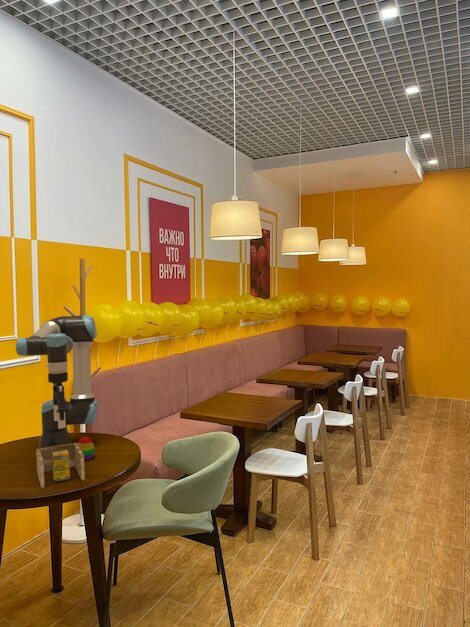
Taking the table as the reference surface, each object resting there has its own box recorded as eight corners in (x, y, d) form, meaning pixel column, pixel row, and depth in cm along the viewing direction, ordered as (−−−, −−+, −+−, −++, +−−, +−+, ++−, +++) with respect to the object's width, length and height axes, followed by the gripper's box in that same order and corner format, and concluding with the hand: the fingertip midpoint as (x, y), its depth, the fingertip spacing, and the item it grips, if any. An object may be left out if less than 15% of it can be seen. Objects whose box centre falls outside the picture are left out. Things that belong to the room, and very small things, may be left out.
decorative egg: (82, 462, 215) (81, 440, 215) (72, 459, 221) (71, 437, 220) (98, 457, 221) (97, 436, 221) (88, 454, 227) (87, 433, 226)
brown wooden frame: (36, 472, 205) (35, 449, 204) (77, 465, 212) (76, 442, 212) (40, 488, 188) (39, 462, 187) (85, 479, 195) (84, 455, 195)
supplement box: (54, 483, 192) (53, 456, 192) (52, 478, 198) (51, 451, 197) (70, 480, 195) (69, 453, 195) (68, 475, 200) (67, 449, 200)
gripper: (44, 369, 204) (46, 418, 205) (51, 377, 182) (53, 433, 183) (63, 367, 207) (65, 416, 208) (72, 375, 185) (74, 430, 186)
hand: (59, 424), depth 195 cm, fingers open, 13 cm apart
